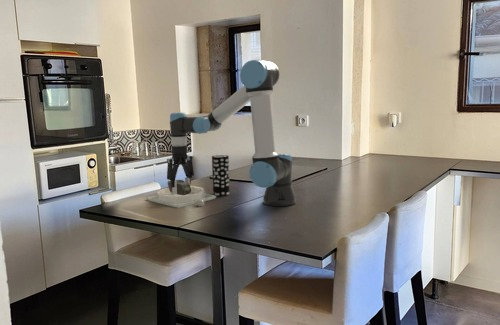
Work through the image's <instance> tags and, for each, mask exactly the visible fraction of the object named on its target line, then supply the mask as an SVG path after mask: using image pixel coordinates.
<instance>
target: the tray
mask: <svg viewBox="0 0 500 325" xmlns="http://www.w3.org/2000/svg"><path fill="white" fill-rule="evenodd" d="M215 199H217V196H215V195H213V194H209V193H205V198H204V199H202V200H204V202H206V201H207V202H208V201H211V200H215ZM146 201H149V202H153V203H157V204H161V205H164V206H165V205H166V206H168V207H173V208H177V209H178V208H183V207H187V206H191V205H194V204H196V202H197V200H195V201H191V202H187V203H183V204H179V205H177V204H173V203H169V202H165V201H161V200H158V194H157V195H153V196H148V197H146ZM196 205H197V204H196Z"/></svg>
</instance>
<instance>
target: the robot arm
mask: <svg viewBox="0 0 500 325" xmlns="http://www.w3.org/2000/svg"><path fill="white" fill-rule="evenodd" d="M239 79H240V82H241V84H242V85H243V86H241V87H240V88H239V89H238V90H237V91H235V92H234V93H233V94H232V95H230V96H229V97H228V98H227V99H226V100H224V101H223V102H222V103H221V104H220V105H218V106H217V107H216V108H215V109H213V110H212V111H211V112H210V113H209V114H208V115H203V116H202V115H201V116H187V115H186V112H172V113H170V115H169V127H170V144H171V146H170V148H171V154H172V156H171V157H170V158H167V159H166V163H167V168H166V170H167V171H166V179H167V180H168V181H171V187H172V193H173V194H177V181H176V180H177V179H176V177H177V174H178V170H179V167H180V166H182V170H183V171H184V174H185V177H184V182H186V183H188V184H189V185H190V186H191V183H192V181H191V179H192V178H193V176H194V175H195V172H194V165H193V156H192V155H188V145H187V144H188V138H187V137H188V136H187V134H199V135H200V134H207V133H208V132H213V131H217V130H219V129H220V128H221V126H222V125H223V123H225V122H227V120H229V119H230V118H231V117H232V116H234V115H235V114H236V113H237V112H239V111H240V110H241V109H243V108H244V107H245V106H246V105H248V104H249V103H250V111H251V120H252V121H251V122H252V133H253V135H252V136H253V145H254V154H253V155H252V157H251V159H252V160H251V161H252V165H250V168H249V172H248V174H249V178H250V180H251V182H252V183H253V184H254V185H255V186H256V187H258V188H259V187H260V188H264V189H265V188H266V189H265V191H264V194H263V198H262V200H263V202H262V203H263V204H264V205H267V206H272V207H273V206H274V207H286V206H292V205H294V204H296V203H297V200H296V198H297V197H296V195H295V192H294V189H293V188H294V187H293V181H292V180H293V179H292V178H293V167H292V166H293V161H292V160H293V159H292V155H291V154H290V153H278V152H277V151H276V149H275V140H274V139H275V138H274V129H273V128H274V126H273V116H272V105H271V103H272V102H271V94H272V93H273V92H274V86H275V85H277V83H278V81H279V79H280V69H279V67H278V66H277V65H276V63H274V62H272V61H270V60H262V59H251V60H248V61H247V62H245V63H244V64H243V66H242V67H241V68H240V73H239Z"/></svg>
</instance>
